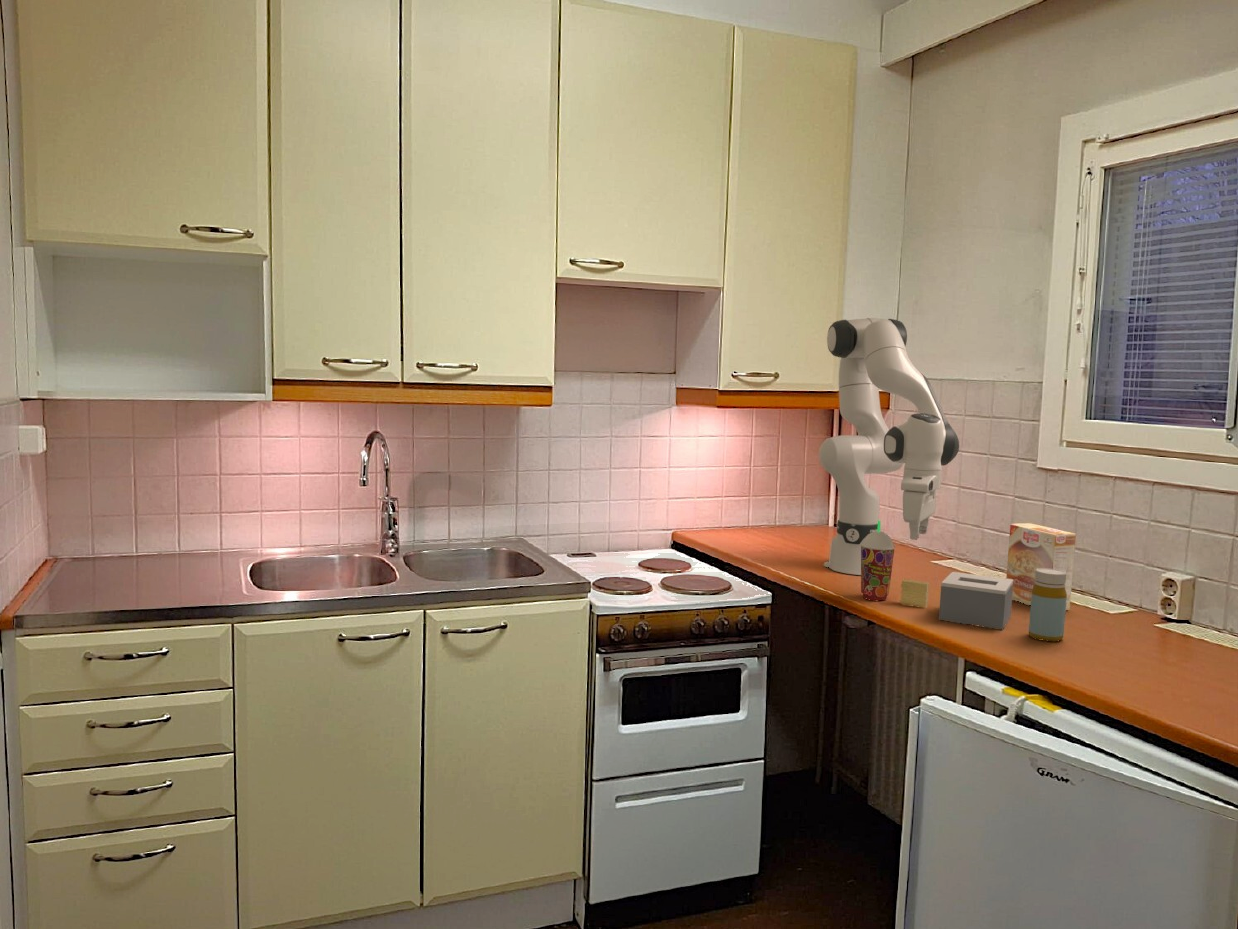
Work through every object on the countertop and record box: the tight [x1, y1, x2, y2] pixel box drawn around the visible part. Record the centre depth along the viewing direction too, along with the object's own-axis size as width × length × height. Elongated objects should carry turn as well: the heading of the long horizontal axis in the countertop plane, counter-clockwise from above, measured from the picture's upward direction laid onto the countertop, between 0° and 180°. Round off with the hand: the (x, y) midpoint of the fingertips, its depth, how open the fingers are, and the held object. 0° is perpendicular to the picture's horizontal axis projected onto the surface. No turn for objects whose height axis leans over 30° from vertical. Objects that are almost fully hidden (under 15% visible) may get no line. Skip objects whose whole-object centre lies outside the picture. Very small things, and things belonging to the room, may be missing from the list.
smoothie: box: [860, 520, 896, 601], centre depth 240 cm, size 8×8×20 cm
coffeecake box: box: [1005, 522, 1077, 611], centre depth 239 cm, size 15×7×20 cm, turn 21°
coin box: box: [938, 571, 1013, 630], centre depth 224 cm, size 14×14×9 cm
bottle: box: [1028, 568, 1067, 642], centre depth 209 cm, size 7×7×15 cm
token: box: [900, 578, 930, 609], centre depth 235 cm, size 2×6×6 cm, turn 61°
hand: (918, 536), depth 233 cm, fingers open, 8 cm apart
